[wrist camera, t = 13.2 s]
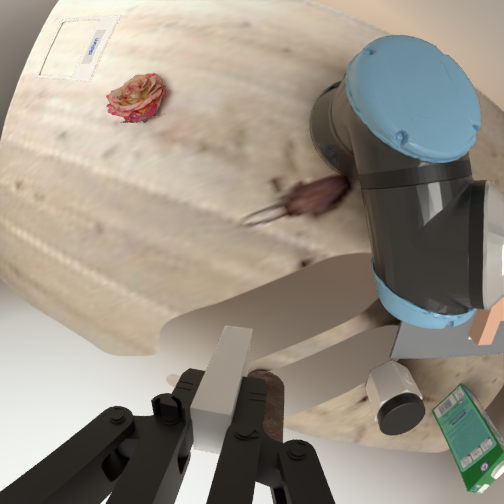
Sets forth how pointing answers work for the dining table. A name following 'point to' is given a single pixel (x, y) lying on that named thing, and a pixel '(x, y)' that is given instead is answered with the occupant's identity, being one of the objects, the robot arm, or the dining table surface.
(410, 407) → the jar
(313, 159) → the dining table surface
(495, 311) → the t block
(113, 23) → the photo frame
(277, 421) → the candle
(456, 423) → the milk carton
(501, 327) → the mat
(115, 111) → the flower
